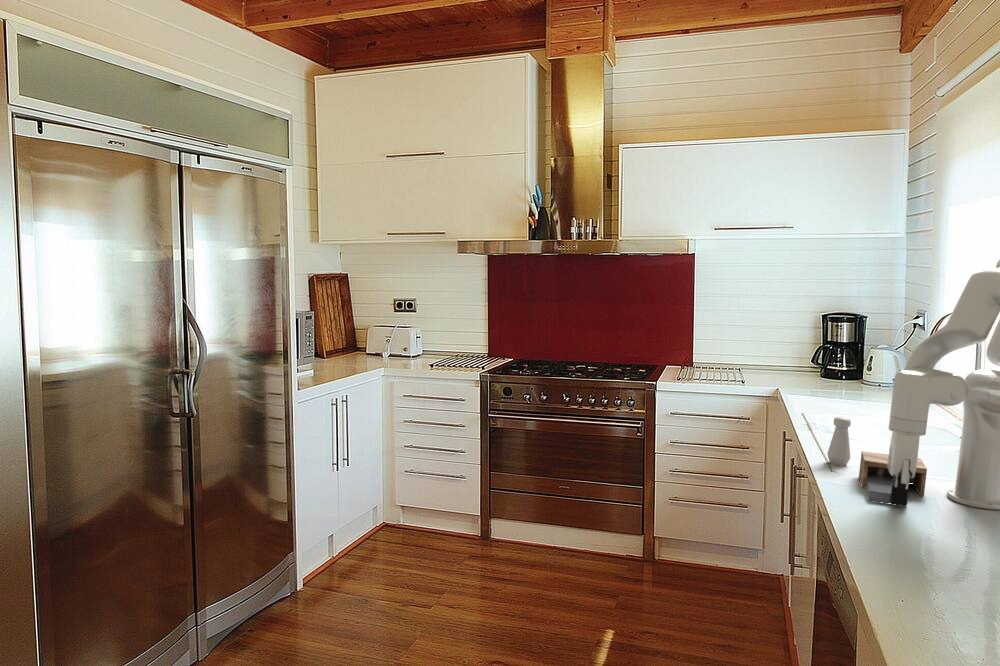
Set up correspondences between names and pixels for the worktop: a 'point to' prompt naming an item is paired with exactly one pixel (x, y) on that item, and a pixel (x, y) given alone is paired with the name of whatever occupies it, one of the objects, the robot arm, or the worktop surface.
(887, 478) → the board
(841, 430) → the salt shaker
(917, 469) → the open wooden box
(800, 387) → the worktop surface
